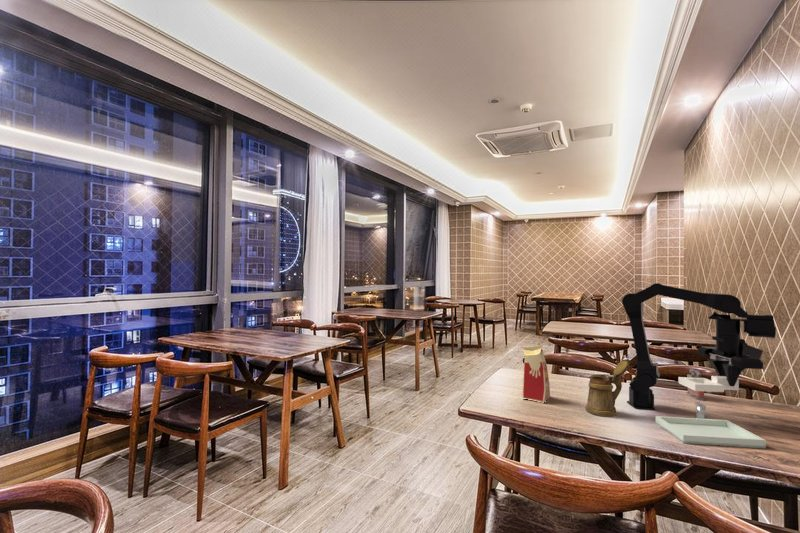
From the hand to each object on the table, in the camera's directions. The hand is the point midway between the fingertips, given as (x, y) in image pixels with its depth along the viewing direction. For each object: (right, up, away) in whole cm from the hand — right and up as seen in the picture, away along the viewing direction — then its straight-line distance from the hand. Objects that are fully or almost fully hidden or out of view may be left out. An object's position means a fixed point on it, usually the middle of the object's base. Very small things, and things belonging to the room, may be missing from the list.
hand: (728, 384), depth 114 cm
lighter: (+10, -13, +24) cm, 29 cm away
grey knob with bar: (-6, -12, +2) cm, 14 cm away
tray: (-14, -12, -9) cm, 20 cm away
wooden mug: (-33, -12, +8) cm, 36 cm away
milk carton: (-52, -12, +22) cm, 58 cm away
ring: (-5, -1, +1) cm, 5 cm away
